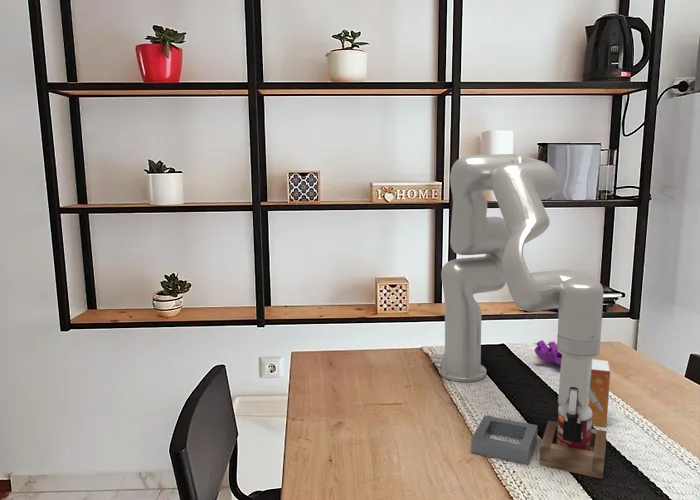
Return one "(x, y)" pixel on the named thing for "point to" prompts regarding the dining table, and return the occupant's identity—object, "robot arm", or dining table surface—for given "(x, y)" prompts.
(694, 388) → the dining table surface
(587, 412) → the pill bottle
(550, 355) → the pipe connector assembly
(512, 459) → the socket block
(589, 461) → the tray
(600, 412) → the small box
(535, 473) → the dining table surface
